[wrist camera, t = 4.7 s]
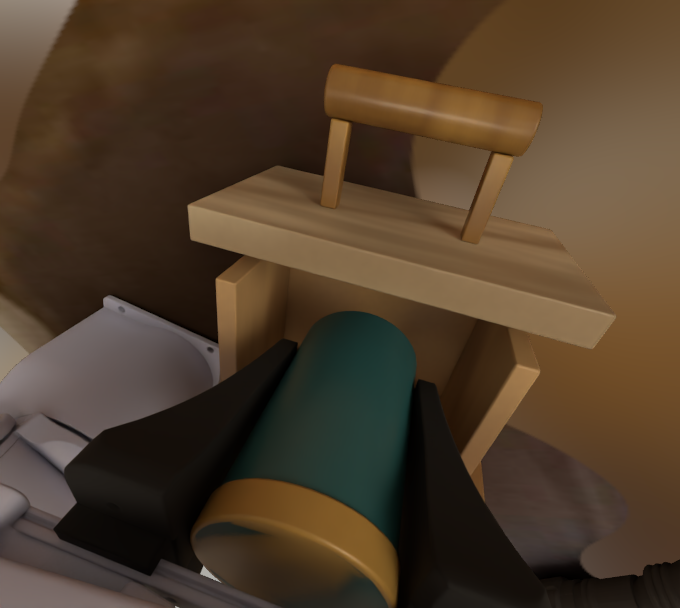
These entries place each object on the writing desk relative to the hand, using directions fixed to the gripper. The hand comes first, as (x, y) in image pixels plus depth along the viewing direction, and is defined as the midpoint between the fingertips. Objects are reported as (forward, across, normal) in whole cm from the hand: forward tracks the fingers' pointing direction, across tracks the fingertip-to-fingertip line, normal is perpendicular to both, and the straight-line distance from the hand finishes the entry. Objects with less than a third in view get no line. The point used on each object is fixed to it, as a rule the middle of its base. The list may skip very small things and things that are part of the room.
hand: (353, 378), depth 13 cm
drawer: (+6, 0, -1) cm, 6 cm away
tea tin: (+1, 0, 0) cm, 1 cm away
